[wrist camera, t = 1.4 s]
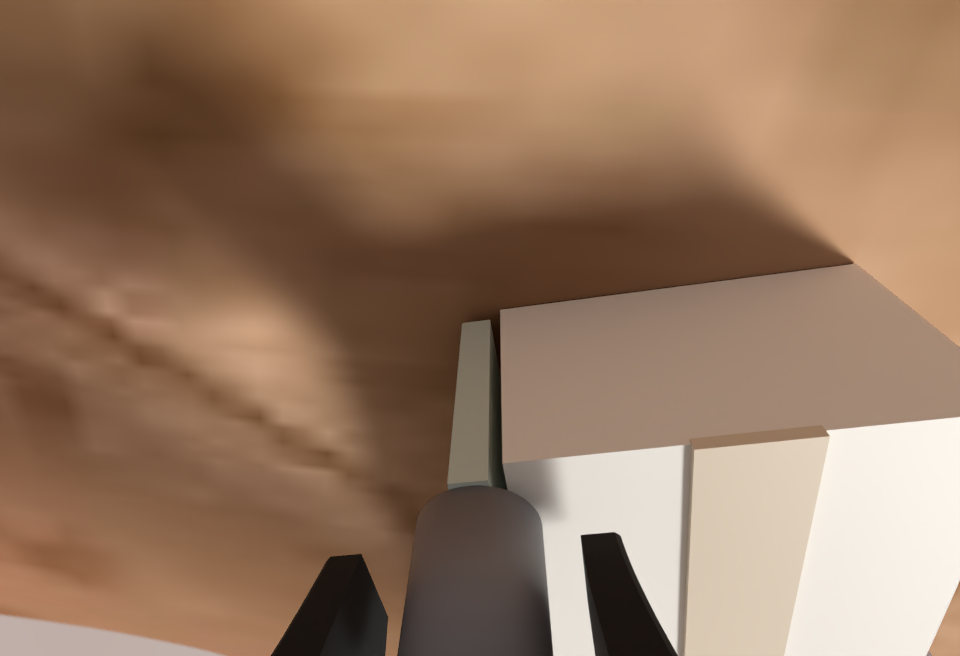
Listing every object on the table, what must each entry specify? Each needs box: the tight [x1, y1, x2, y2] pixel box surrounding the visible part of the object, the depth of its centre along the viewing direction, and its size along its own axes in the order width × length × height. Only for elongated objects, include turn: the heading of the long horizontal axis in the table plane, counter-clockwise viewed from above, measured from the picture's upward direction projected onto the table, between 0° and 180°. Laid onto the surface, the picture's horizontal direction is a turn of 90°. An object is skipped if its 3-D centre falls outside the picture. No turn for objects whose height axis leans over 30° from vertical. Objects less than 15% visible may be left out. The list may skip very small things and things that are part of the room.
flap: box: [397, 320, 553, 656], centre depth 16 cm, size 14×3×10 cm, turn 9°
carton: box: [500, 264, 960, 656], centre depth 17 cm, size 14×10×6 cm
